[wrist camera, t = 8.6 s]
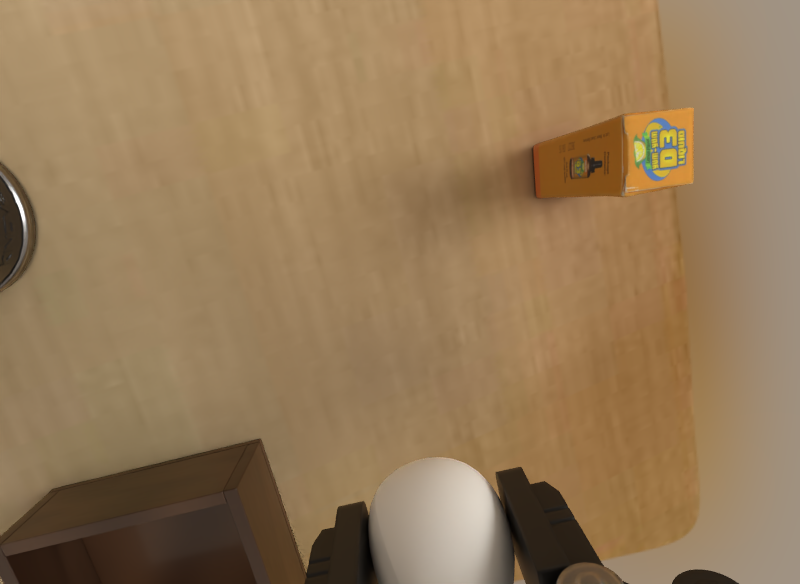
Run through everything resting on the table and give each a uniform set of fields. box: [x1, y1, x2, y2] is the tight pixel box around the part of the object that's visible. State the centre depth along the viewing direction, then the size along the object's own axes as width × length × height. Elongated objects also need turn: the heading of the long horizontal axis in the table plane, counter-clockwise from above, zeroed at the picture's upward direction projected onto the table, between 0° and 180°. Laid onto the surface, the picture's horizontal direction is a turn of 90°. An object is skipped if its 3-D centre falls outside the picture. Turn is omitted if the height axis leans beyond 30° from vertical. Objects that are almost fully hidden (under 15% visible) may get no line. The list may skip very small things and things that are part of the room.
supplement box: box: [533, 108, 694, 198], centre depth 23 cm, size 3×4×10 cm
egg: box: [368, 457, 515, 584], centre depth 11 cm, size 4×4×6 cm
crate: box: [0, 439, 307, 584], centre depth 30 cm, size 15×12×5 cm
